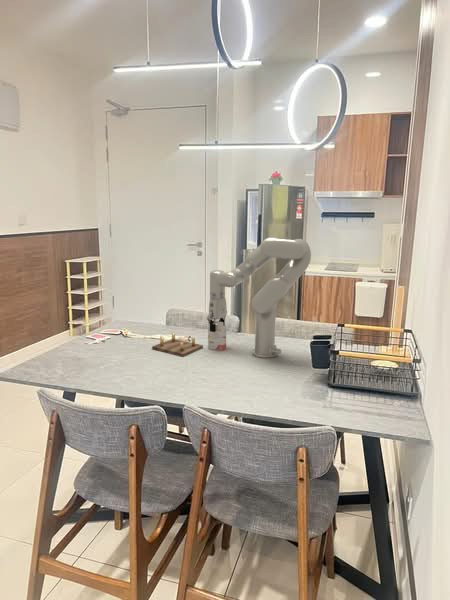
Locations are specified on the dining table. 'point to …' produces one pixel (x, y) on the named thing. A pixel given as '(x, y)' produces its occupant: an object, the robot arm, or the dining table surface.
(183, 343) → the brass pins
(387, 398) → the dining table surface
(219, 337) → the ink cartridge box
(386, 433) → the dining table surface
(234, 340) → the dining table surface
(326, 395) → the dining table surface
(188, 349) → the walnut plate
